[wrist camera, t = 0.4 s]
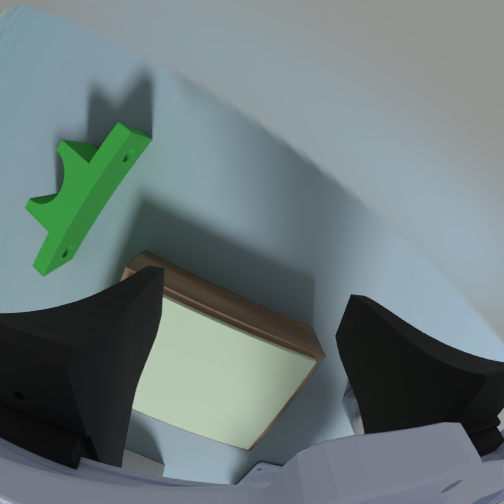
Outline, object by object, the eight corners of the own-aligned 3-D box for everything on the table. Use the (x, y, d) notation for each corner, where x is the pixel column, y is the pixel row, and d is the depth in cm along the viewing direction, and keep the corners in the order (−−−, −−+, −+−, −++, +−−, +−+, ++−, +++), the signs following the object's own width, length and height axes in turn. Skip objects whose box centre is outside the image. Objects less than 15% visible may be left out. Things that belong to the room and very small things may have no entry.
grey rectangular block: (108, 440, 27) (82, 509, 17) (164, 464, 28) (151, 535, 18) (103, 454, 27) (79, 518, 18) (155, 477, 28) (141, 543, 19)
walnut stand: (248, 419, 26) (250, 454, 22) (105, 360, 24) (86, 390, 20) (312, 328, 24) (326, 358, 19) (144, 250, 22) (123, 268, 17)
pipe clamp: (117, 111, 19) (90, 98, 15) (153, 139, 20) (132, 131, 16) (42, 230, 21) (8, 242, 17) (72, 259, 22) (42, 277, 17)
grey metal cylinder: (367, 416, 27) (383, 450, 22) (333, 408, 26) (347, 445, 21) (394, 384, 26) (415, 416, 21) (361, 373, 25) (380, 408, 20)
